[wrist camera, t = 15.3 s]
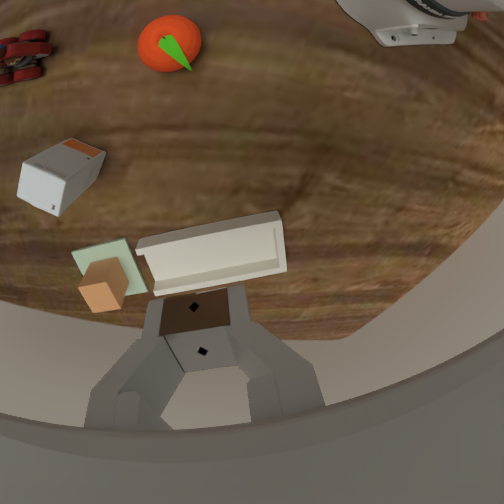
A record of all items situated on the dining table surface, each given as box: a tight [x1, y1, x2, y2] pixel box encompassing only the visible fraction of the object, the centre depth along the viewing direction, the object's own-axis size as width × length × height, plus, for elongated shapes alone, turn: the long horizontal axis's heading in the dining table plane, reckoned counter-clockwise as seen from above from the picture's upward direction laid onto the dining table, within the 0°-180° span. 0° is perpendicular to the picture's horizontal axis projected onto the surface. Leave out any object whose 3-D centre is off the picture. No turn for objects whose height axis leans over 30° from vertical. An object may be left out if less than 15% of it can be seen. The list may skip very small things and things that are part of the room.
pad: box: [71, 237, 148, 296], centre depth 41 cm, size 10×10×1 cm
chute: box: [135, 210, 287, 296], centre depth 41 cm, size 20×8×3 cm, turn 99°
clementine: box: [137, 15, 202, 72], centre depth 23 cm, size 8×7×7 cm
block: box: [78, 257, 129, 313], centre depth 38 cm, size 5×5×6 cm
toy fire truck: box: [0, 29, 52, 87], centre depth 17 cm, size 7×12×10 cm, turn 80°
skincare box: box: [17, 138, 106, 217], centre depth 27 cm, size 6×4×12 cm
